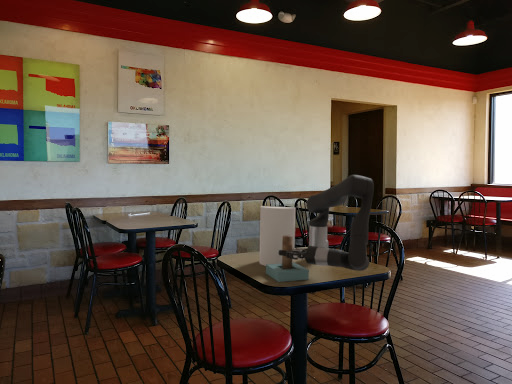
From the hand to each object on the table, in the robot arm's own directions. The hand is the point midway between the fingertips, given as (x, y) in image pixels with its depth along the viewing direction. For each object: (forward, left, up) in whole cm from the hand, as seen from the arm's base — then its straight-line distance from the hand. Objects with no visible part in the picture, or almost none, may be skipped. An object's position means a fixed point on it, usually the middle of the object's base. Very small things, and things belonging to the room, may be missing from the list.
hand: (281, 251), depth 172 cm
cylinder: (-7, -22, -11) cm, 26 cm away
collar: (-2, +2, -11) cm, 11 cm away
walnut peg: (-2, +2, -9) cm, 9 cm away
